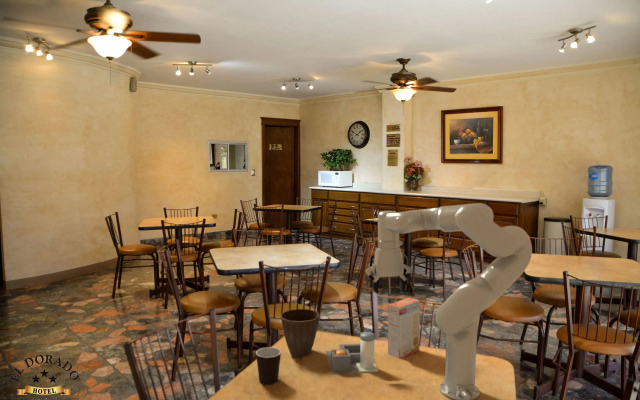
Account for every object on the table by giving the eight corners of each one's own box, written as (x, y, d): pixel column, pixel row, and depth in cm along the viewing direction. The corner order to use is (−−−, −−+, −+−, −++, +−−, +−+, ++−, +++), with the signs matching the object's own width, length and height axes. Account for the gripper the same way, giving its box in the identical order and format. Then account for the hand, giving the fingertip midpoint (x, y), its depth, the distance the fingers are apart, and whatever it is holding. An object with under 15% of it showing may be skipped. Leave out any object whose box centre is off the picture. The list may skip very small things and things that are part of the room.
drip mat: (378, 371, 166) (378, 370, 165) (359, 372, 165) (359, 371, 165) (374, 363, 172) (374, 362, 172) (355, 364, 172) (355, 362, 172)
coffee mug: (274, 388, 155) (274, 359, 154) (251, 383, 158) (251, 355, 157) (288, 373, 166) (288, 346, 165) (266, 369, 169) (266, 342, 168)
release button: (346, 364, 167) (346, 353, 167) (336, 364, 167) (336, 354, 166) (344, 360, 171) (344, 349, 170) (335, 360, 170) (335, 349, 170)
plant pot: (291, 365, 172) (291, 323, 171) (274, 351, 185) (274, 312, 184) (325, 357, 180) (326, 317, 178) (307, 344, 193) (307, 306, 191)
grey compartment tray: (378, 375, 165) (379, 357, 165) (331, 376, 163) (331, 359, 163) (367, 352, 185) (367, 336, 184) (325, 353, 183) (325, 337, 183)
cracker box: (407, 346, 191) (408, 296, 190) (419, 350, 187) (421, 299, 185) (386, 356, 182) (387, 303, 180) (399, 360, 177) (400, 307, 176)
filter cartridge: (375, 369, 166) (376, 336, 165) (361, 370, 166) (361, 337, 165) (372, 363, 171) (373, 331, 170) (358, 363, 171) (359, 332, 170)
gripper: (408, 242, 173) (408, 288, 174) (362, 244, 171) (363, 290, 172) (415, 245, 166) (415, 293, 167) (367, 247, 163) (368, 295, 164)
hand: (389, 291), depth 169 cm, fingers open, 9 cm apart
